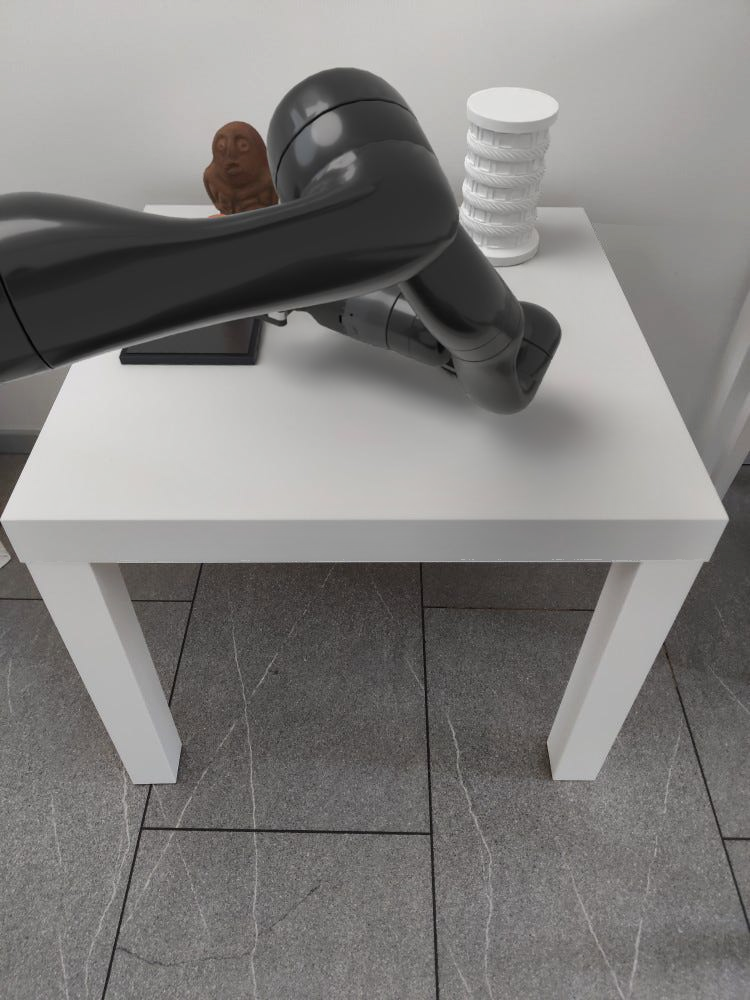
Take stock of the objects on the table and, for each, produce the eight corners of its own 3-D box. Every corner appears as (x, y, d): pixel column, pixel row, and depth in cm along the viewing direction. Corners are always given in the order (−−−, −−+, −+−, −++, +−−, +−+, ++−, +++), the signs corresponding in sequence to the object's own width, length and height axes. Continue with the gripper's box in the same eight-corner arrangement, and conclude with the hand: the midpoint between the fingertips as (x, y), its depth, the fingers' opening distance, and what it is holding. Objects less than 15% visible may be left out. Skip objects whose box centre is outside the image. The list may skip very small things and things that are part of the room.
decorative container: (446, 260, 101) (457, 118, 87) (458, 219, 108) (470, 82, 95) (534, 271, 99) (559, 127, 86) (540, 228, 107) (564, 90, 93)
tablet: (120, 364, 86) (118, 356, 85) (155, 273, 99) (153, 266, 98) (254, 365, 86) (253, 357, 85) (271, 274, 98) (270, 266, 98)
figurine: (208, 224, 107) (189, 112, 96) (278, 214, 109) (267, 103, 98) (219, 256, 101) (200, 141, 90) (293, 245, 103) (283, 131, 92)
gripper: (405, 240, 80) (283, 200, 86) (324, 304, 72) (196, 255, 78) (403, 303, 85) (288, 261, 91) (328, 369, 77) (208, 318, 83)
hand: (246, 258), depth 84 cm, fingers open, 8 cm apart
